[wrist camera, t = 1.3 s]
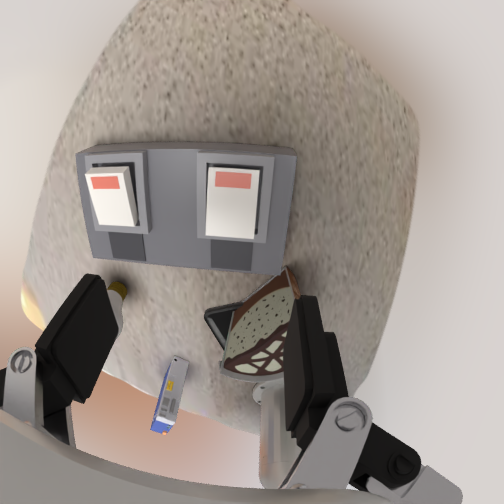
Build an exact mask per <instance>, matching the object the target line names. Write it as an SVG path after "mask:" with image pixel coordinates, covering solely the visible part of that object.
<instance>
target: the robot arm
mask: <svg viewBox="0 0 504 504" xmlns="http://www.w3.org/2000/svg"><path fill="white" fill-rule="evenodd" d="M118 332H119V327H118V324H117V321H116V318H115V315H114V312H113V309H112V306H111V302H110V299H109V296H108V292H107V289H106V286H105V282H104V280H102V279H101V277H100V276H99V275H94V274H85V275H84V276H83V278H82V279H81V280H80V281H79V283H78V284H77V285H76V287H75V288H74V289H73V291H72V292H71V293H70V295H69V296H68V297H67V299H66V300H65V301H64V303H63V304H62V306H61V307H60V308H59V310H58V311H57V313H56V314H55V315H54V317H53V318H52V320H51V321H50V323H49V324H48V326H47V327H46V329H45V330H44V332H43V334H42V335H41V336H40V338H39V339H38V341H37V343H36V344H35V347H36V349H35V351H34V350H33V349H32V348H29V347H21V348H18V349H17V350H15V351H14V352H13V353H12V354H11V356H10V357H9V360H8V363H7V367H6V368H4V369H2V370H0V504H461V503H462V497H463V495H462V492H461V490H460V489H459V487H457V486H456V485H454V484H453V483H452V482H450V481H449V480H447V479H446V478H445V477H443V476H442V475H440V474H439V473H438V472H436V471H435V470H433V469H432V468H431V467H429V466H423V465H422V464H421V459H420V456H419V455H418V453H417V452H416V451H415V450H414V449H412V448H411V447H409V446H408V445H406V444H405V443H403V442H401V441H400V440H398V439H397V438H395V437H394V436H392V435H391V434H389V433H387V432H386V431H384V430H383V429H381V428H380V427H378V426H377V425H375V424H374V423H372V413H371V410H370V409H369V407H368V406H367V405H366V404H365V403H364V402H363V401H361V400H359V399H357V398H353V397H349V396H348V391H347V386H346V381H345V376H344V371H343V366H342V362H341V357H340V352H339V348H338V343H337V339H336V336H335V334H334V332H324V330H323V325H322V320H321V315H320V310H319V305H318V301H317V297H316V296H306V295H301V296H300V298H299V299H294V303H293V307H292V312H291V316H290V321H289V325H288V329H287V334H286V338H285V342H284V347H283V369H284V378H283V379H280V380H275V381H269V382H259V383H257V384H256V385H255V387H254V388H253V395H252V396H253V399H254V400H255V402H256V403H258V404H259V405H261V420H260V454H259V479H260V482H261V484H262V486H263V487H264V488H265V489H257V488H240V487H228V486H218V485H209V484H202V483H195V482H189V481H184V480H178V479H173V478H168V477H164V476H159V475H155V474H150V473H147V472H143V471H139V470H136V469H132V468H129V467H126V466H122V465H119V464H116V463H113V462H110V461H107V460H104V459H102V458H99V457H96V456H93V455H91V454H88V453H86V452H83V451H81V450H78V449H76V444H75V438H74V431H73V423H72V413H71V402H72V400H74V401H77V402H80V403H83V404H84V403H85V400H86V398H89V397H90V395H91V393H92V391H93V388H94V386H95V384H96V381H97V379H98V377H99V374H100V372H101V370H102V368H103V366H104V363H105V361H106V359H107V357H108V355H109V352H110V350H111V348H112V346H113V344H114V342H115V340H116V338H117V335H118ZM348 483H349V484H350V485H352V486H353V487H355V488H356V489H358V490H359V491H358V490H350V489H346V487H347V485H348Z"/></svg>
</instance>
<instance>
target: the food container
mask: <svg viewBox="0 0 504 504" xmlns="http://www.w3.org/2000/svg"><path fill="white" fill-rule="evenodd" d="M300 296H301V294H300V291H299V288H298V284H297V281H296V278H295V276H294V274H293V273H292V272H291V270H290V269H289V268H288V267H287V266H285V267H284V268H283V269H281V275H274V276H273V277H272V278H270V279H269V280H268V281H267V282H266V283H264V284H263V285H262V286H261V287H259V288H258V289H257V290H256V291H254V292H253V293H252V294H251V295H249V296H248V297H247V298H246V299H244V300H243V301H242V302H244V304H243V305H242V306H241V307H239V308H238V309H237V310H235V311H233V313H232V318H231V322H230V327H229V332H228V336H227V341H226V346H225V350H224V355H223V360H222V361H219V370H220V374H222V375H224V376H226V377H229V378H232V379H235V380H239V381H246V382H269V381H275V380H280V379H283V378H284V369H283V347H284V342H285V338H286V334H287V329H288V325H289V321H290V316H291V312H292V307H293V303H294V299H299V298H300Z"/></svg>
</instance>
